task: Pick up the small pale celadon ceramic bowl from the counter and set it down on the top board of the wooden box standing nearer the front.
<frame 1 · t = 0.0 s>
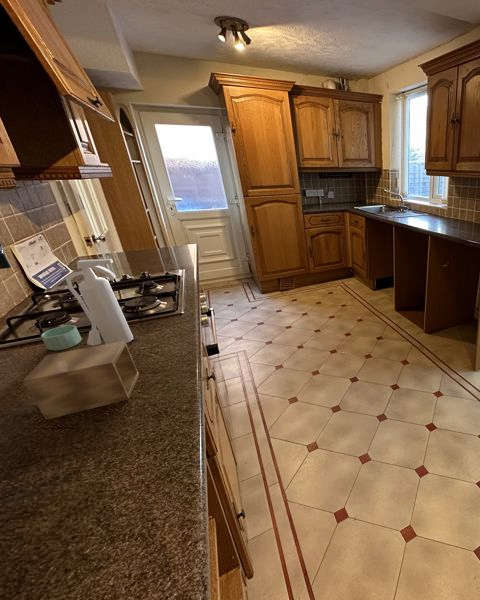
fire extinguisher: (116, 343, 95), on the worktop
bowl: (65, 344, 94), on the worktop
wooden box: (97, 395, 74), on the worktop
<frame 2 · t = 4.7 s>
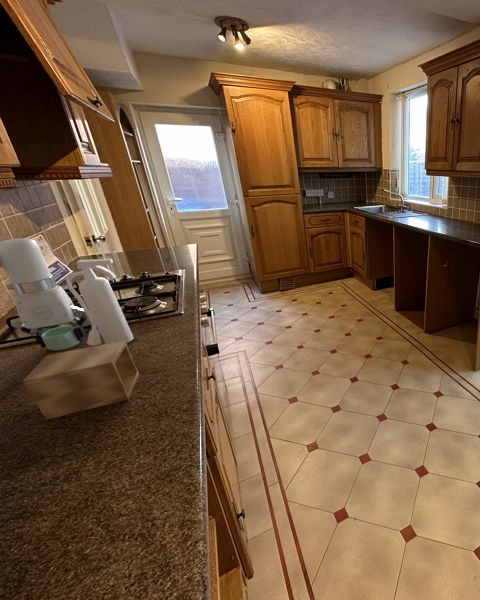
hand: (64, 341, 93), 1 cm above the worktop, tool pointing down, fingers closed on bowl, 7 cm apart
bowl: (65, 344, 94), on the worktop, touching gripper
everything else where it was.
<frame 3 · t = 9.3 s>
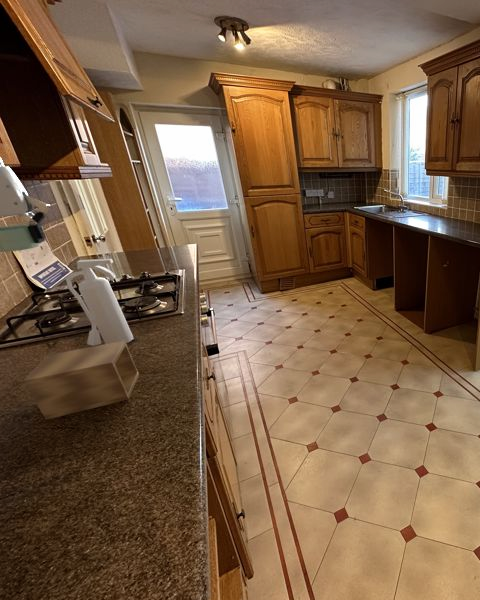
hand: (17, 243, 73), 32 cm above the worktop, tool pointing down, fingers closed on bowl, 7 cm apart
bowl: (19, 248, 74), point 31 cm above the worktop, touching gripper
everything else where it was.
when the fingers open (11 cm above the worktop, at t = 14.3 s): bowl stays where it is, resting on wooden box.
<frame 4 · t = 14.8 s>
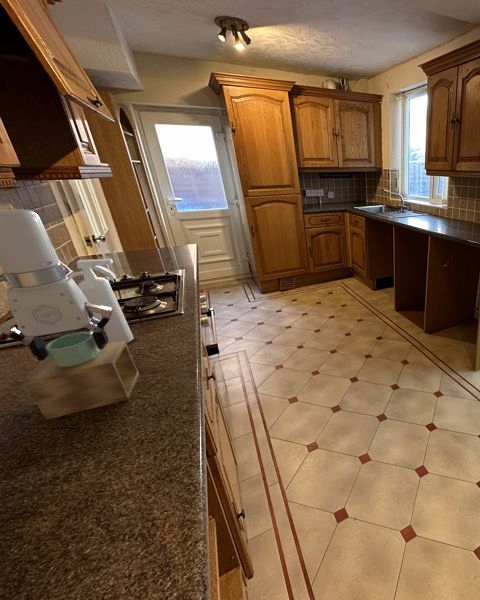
hand: (75, 351, 69), 12 cm above the worktop, tool pointing down, fingers open, 9 cm apart
bowl: (79, 358, 70), point 10 cm above the worktop, touching wooden box
everything else where it was.
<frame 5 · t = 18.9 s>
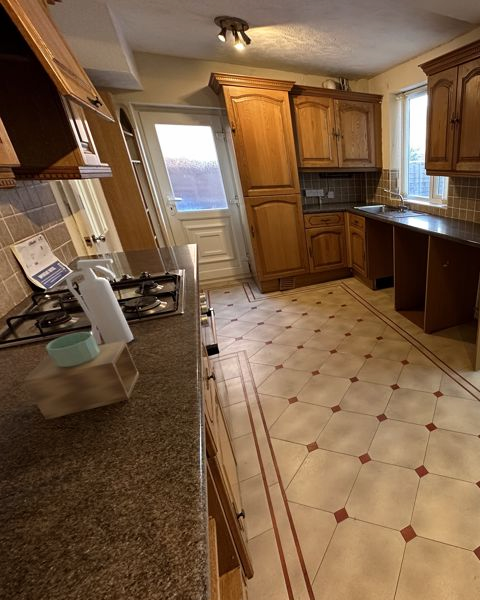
nothing on the worktop moved.
at the end: bowl inside the target area on the wooden box (0.0 cm from its centre), point 10.0 cm above the wooden box's base; bowl tilted 0°; the gripper is holding nothing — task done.
